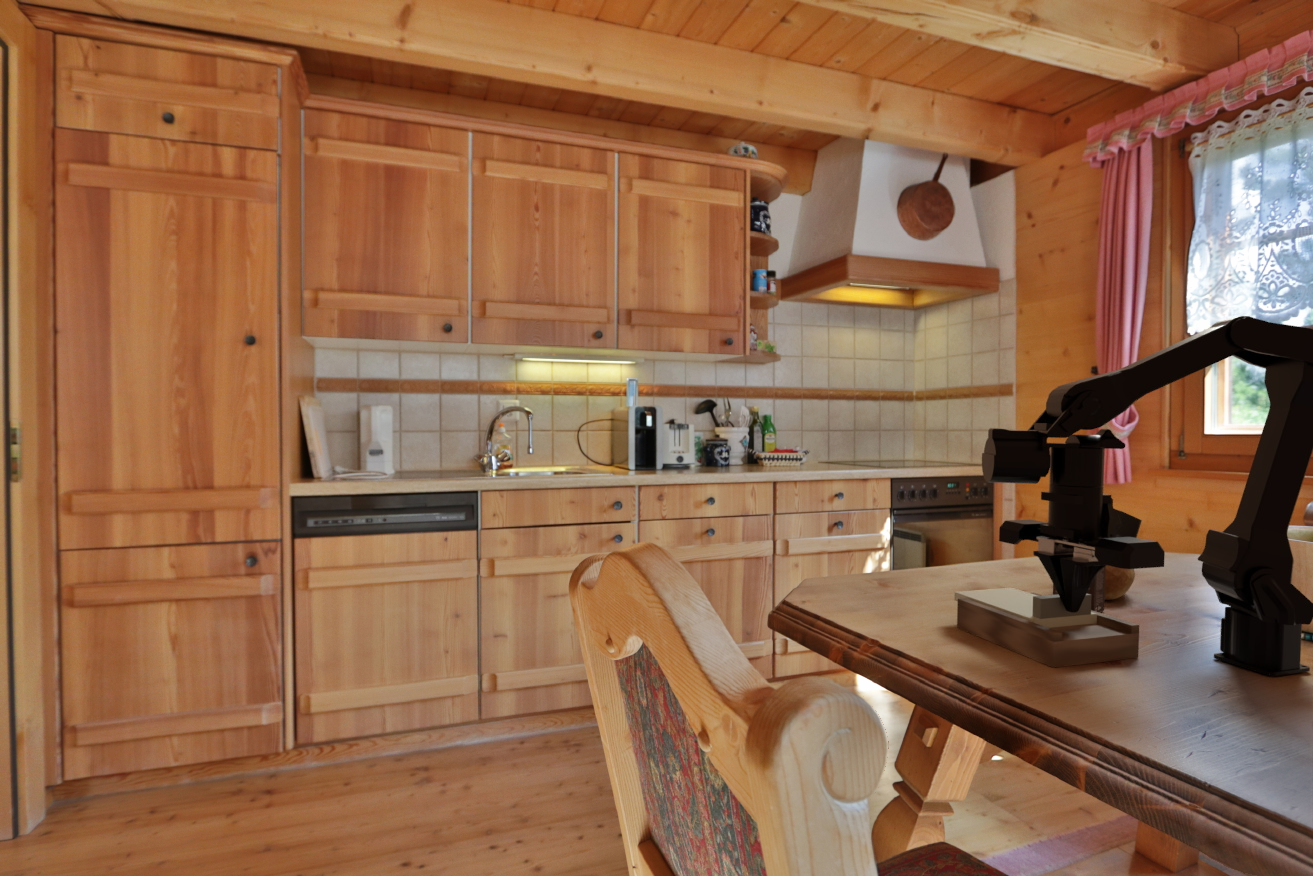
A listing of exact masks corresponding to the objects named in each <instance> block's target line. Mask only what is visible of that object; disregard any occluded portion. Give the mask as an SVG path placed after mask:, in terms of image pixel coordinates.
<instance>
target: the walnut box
mask: <svg viewBox="0 0 1313 876" xmlns="http://www.w3.org/2000/svg"><path fill="white" fill-rule="evenodd" d="M1030 593H1031V594H1034V595H1037V596H1044V595H1042V594H1039V593H1035V592H1030ZM956 611H957V615H956V628H957V629H960V630H962V631H964V632H966V633H970V634H972V635H973V636H977V637H979V638H981V639H983V640H985V641H988V642H991V643H993V644H995V645H998V646H1000V647H1003V648H1005V649H1007V650H1010V651H1012V652H1014V653H1017V654H1020V655H1022V656H1025V657H1027V658H1029V659H1031V660H1034V661H1036V662H1038V663H1041V664H1043V665H1046V666H1048V667H1051V668H1061V667H1070V666H1080V665H1087V664H1094V663H1096V664H1097V663H1104V662H1105V663H1106V662H1112V661H1119V660H1121V661H1122V660H1129V659H1137V658H1139V650H1140V648H1139V647H1140V646H1139V645H1140V644H1139V643H1140V624H1138V623H1135V622H1131V621H1127V620H1125V619H1121V618H1118V617H1115V616H1112V615H1108V614H1105V613H1102V612H1101V613H1099V612H1096V611H1092V610H1091V612H1093V613H1096V614H1097V623H1093V624H1083V625H1073V626H1062V627H1052V628H1048V627H1045V626H1042V625H1039V624H1036V623H1034V622H1031V621H1028V620H1025V619H1022V618H1020V617H1017V616H1014V615H1011V614H1008V613H1005V612H1003V611H1000V610H997V609H994V608H991V607H989V606H986V605H983V604H980V603H977V602H974V601H972V600H969V599H966V598H960V599H958V601H957V609H956Z"/></svg>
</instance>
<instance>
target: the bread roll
mask: <svg viewBox="0 0 1313 876" xmlns="http://www.w3.org/2000/svg"><path fill="white" fill-rule="evenodd" d="M1135 576H1136V572H1135V569H1123V568H1117V567H1113V566H1108V565H1106V566H1105V601H1106V600H1117V599H1119V598H1120V597H1122V596H1125V595H1126V593H1127V592H1129V590H1130V588H1131V586H1132V585H1133V583H1134V581H1135V578H1136V577H1135Z"/></svg>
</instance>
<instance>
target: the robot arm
mask: <svg viewBox="0 0 1313 876" xmlns="http://www.w3.org/2000/svg"><path fill="white" fill-rule="evenodd" d="M1230 357H1234V358H1236V359H1238V360H1241V361H1242V362H1244V363H1247V364H1249V365H1251V366H1255V367H1259V368H1262V369H1265V374H1264V385H1265V389H1266V392H1267V397H1268V400H1269V410H1268V413H1267V416H1266V418H1265V423H1264V425H1263V427H1262V432H1261V435H1260V438H1259V440H1258V441H1259V442H1258V444H1257V448H1256V451H1255V454H1254V456H1253V461H1252V464H1251V467H1250V470H1249V474H1248V477H1247V480H1246V482H1245V486H1244V489H1243V492H1242V495H1241V499H1240V502H1239V505H1238V508H1237V511H1236V514H1235V518H1234V519H1233V521H1232V522H1231V523H1230V524H1229V525H1228V526H1227V527H1226V528H1225V529H1224V530H1223V531H1220V530H1216V529H1213V528H1212V529H1211V528H1210V529H1209V530H1207V533H1206V535H1205V545H1204V548H1203V550H1202V553H1201V554H1200V555H1199V556H1198V557H1197V561H1199V562H1201V563H1202V564H1201V576H1202V577H1203V578H1204V580H1205V581H1206V583H1207V584H1208V586H1210V587H1211V588H1212V589H1213V590H1214V591H1215V593H1216V596H1217V600H1218V602H1219V603H1220V604H1222V605H1226V606H1225V608H1224V617H1222V618H1221V619H1220V640H1219V650H1220V652H1217V653H1213V658H1214V659H1216V660H1219V661H1222V662H1225V663H1228V664H1232V665H1234V666H1238V667H1241V668H1243V669H1247V670H1251V671H1254V672H1257V673H1260V674H1263V675H1265V676H1270V677H1278V676H1285V675H1291V674H1300V673H1308V672H1310V670H1311V667H1310V666H1308V665H1306V664H1302V663H1301V655H1302V652H1301V651H1302V634H1303V633H1302V631H1303V630H1302V628H1303V625H1311V623H1312V621H1313V602H1312V601H1311V600H1310V599H1309V598H1308V597H1307V596H1306V595H1305V594H1303V593H1302V591H1300V590H1299V589H1298V588H1297V587H1296V586H1295V585H1293V583H1292V580H1293V569H1294V563H1295V562H1294V561H1295V560H1294V559H1295V558H1294V556H1293V555H1294V554H1293V551H1292V548H1291V544H1290V540H1289V536H1288V531H1289V528H1290V527H1289V526H1290V523H1291V521H1292V518H1293V514H1294V511H1295V509H1296V505H1297V502H1298V500H1299V499H1298V498H1299V496H1300V492H1301V489H1302V487H1303V483H1304V480H1305V476H1306V474H1307V470H1308V468H1309V464H1310V463H1311V462H1310V461H1311V458H1312V456H1313V328H1309V327H1303V326H1297V325H1290V324H1284V323H1276V322H1270V321H1267V320H1263V319H1259V318H1255V317H1252V316H1250V315H1240V316H1236V317H1232V318H1227V319H1223V320H1220V321H1216V322H1215V323H1214V324H1212V325H1211V326H1210V327H1208V328H1207V329H1204V330H1202V331H1199V332H1198V333H1195V334H1193V335H1191V336H1189V337H1187V338H1185V339H1182V340H1180V341H1178V342H1176V343H1174V344H1172V345H1169V346H1167V347H1165V348H1163V349H1161V350H1158V351H1156V352H1155V353H1154V352H1153V353H1152V354H1150V355H1147V356H1145V357H1143V358H1141V359H1139V360H1137V361H1135V362H1132V363H1130V364H1128V365H1125V366H1124V367H1122V368H1120V369H1119V368H1118V369H1116V370H1112V371H1110V372H1106V373H1101V374H1098V375H1092V376H1089V377H1086V378H1082V379H1079V380H1075V381H1071V382H1068V383H1064V384H1061V385H1058V386H1057V387H1055V388H1054V389H1053V390H1051V392H1050V393H1049V394H1048V398H1047V400H1046V402H1045V410H1043V412H1042V413H1041V414H1040V415H1039V416H1038V417H1037V418H1036V420H1035V421H1034V422H1033V423H1032V424H1031V425H1030V427H1029V428H1028V429H1026V430H1022V429H1021V430H1015V429H1006V428H991V427H990V428H989V429H988V433H987V434H988V435H987V439H986V441H985V444H984V450H983V452H982V453H981V469H982V475H983V476H982V477H983V479H984V481H985V482H986V483H995V484H996V483H997V484H998V483H1000V484H1026V485H1027V484H1029V485H1030V484H1031V485H1033V484H1034V485H1035V484H1038V483H1039V482H1040V480H1041V478H1046V477H1047V475H1048V474H1049V484H1048V486H1049V487H1048V488H1049V489H1048V491H1041V492H1040V500H1041V501H1047V502H1048V513H1047V515H1048V516H1047V522H1046V521H1041V520H1035V519H1012V520H1011V519H1010V520H1004V521H1003V522H1002V524H1001V525H1000V526H999V531H998V533H999V534H998V538H999V539H998V541H999V542H1001V543H1006V544H1010V545H1019V544H1020V543H1021V542H1022V541H1032V542H1037V543H1038V545H1037V550H1033V552H1032V553H1033V557H1037V558H1038V559H1039V561H1040V563H1041V565H1042V566H1043V567H1044V569H1045V571H1046V573H1047V574H1048V577H1049V578H1050V580H1051V583H1052V585H1053V584H1054V586H1055V588H1056V590H1057V592H1058V594H1059V596H1060V599H1061V601H1062V603H1063V605H1064V607H1065V609H1066V611H1068V612H1071V613H1075V612H1078V611H1079V609H1080V606H1081V604H1082V602H1083V600H1084V598H1085V596H1086V594H1087V591H1088V589H1089V587H1090V585H1091V583H1092V581H1093V579H1094V578H1095V576H1096V575H1097V573H1098V572H1099V571H1100V570H1101V569H1103V568H1104V567H1105V566H1106V565H1108V566H1113V567H1117V568H1123V569H1134V570H1135V569H1136V570H1137V569H1140V570H1141V569H1153V568H1164V567H1165V550H1164V548H1163V547H1162V545H1161V544H1160V543H1159V541H1157V540H1151V539H1150V540H1149V539H1144V538H1139V537H1138V534H1139V531H1140V527H1141V524H1142V521H1143V520H1142V519H1140V518H1138V517H1136V516H1134V515H1131V514H1129V513H1126V512H1125V511H1122V510H1119V509H1117V508H1114V499H1113V498H1112V494H1106V493H1104V482H1105V457H1106V454H1105V451H1106V449H1108V450H1118V449H1119V450H1123V449H1125V448H1126V443H1125V442H1124V441H1122V440H1121V439H1120V438H1118V437H1117V436H1116V435H1115V434H1114V433H1113V431H1112V430H1111V429H1110V428H1101V427H1103V426H1105V425H1107V424H1108V423H1110V421H1112V420H1114V419H1115V418H1117V417H1118V416H1120V415H1121V414H1123V413H1124V412H1126V411H1128V409H1129V408H1130V407H1131V406H1133V405H1134V404H1135V402H1137V401H1138V400H1140V399H1142V397H1144V396H1145V395H1147V394H1150V393H1152V392H1155V391H1156V390H1159V389H1161V388H1164V387H1166V386H1168V385H1170V384H1172V383H1174V382H1177V381H1179V380H1180V379H1183V378H1186V377H1187V376H1190V375H1192V374H1194V373H1196V372H1198V371H1201V370H1203V369H1206V368H1208V367H1210V366H1213V365H1214V364H1217V363H1218V362H1221V361H1223V360H1226V359H1227V358H1230ZM1099 428H1101V429H1099ZM1096 429H1099V430H1098V431H1097V432H1095V434H1076V433H1078V432H1079V431H1081V430H1082V431H1088V430H1089V431H1090V430H1091V431H1092V430H1096ZM1048 438H1053V439H1054V438H1055V439H1056V438H1060V439H1061V438H1063V439H1065V442H1048ZM1063 539H1064V540H1063ZM1068 540H1069V541H1068Z"/></svg>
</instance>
